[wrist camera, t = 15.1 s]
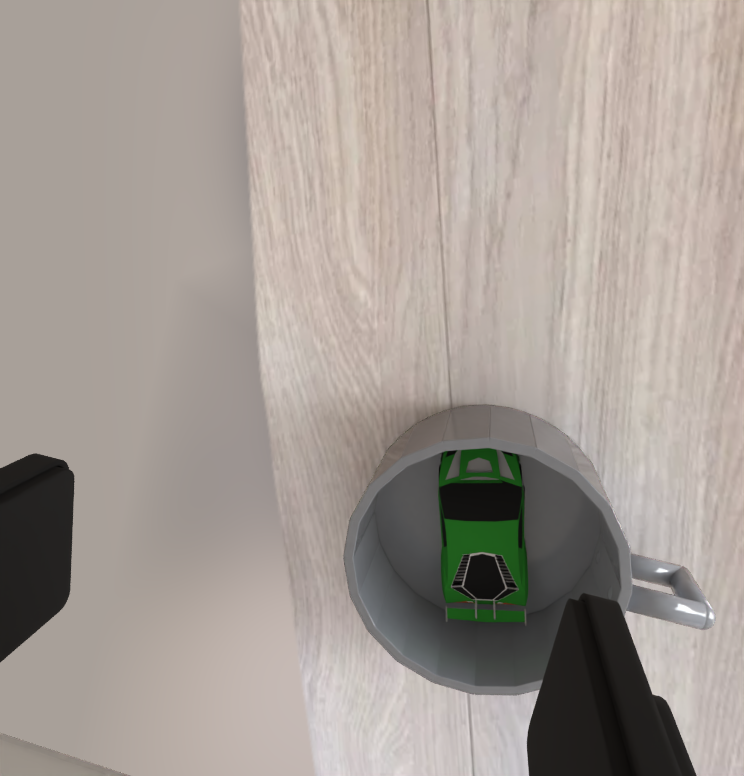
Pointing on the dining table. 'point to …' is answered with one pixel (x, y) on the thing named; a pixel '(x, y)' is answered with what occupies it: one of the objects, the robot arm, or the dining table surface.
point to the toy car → (483, 533)
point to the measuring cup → (545, 582)
